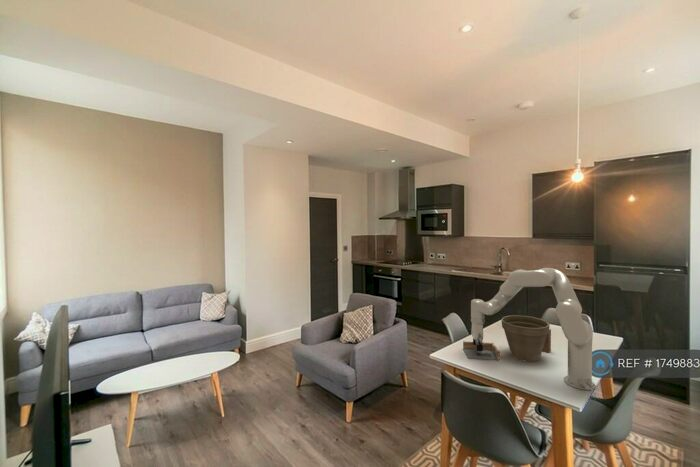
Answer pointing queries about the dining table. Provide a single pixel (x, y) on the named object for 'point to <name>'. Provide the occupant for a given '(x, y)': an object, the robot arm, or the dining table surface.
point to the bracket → (482, 353)
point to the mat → (472, 355)
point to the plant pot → (525, 336)
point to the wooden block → (547, 343)
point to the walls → (485, 347)
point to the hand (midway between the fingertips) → (477, 347)
